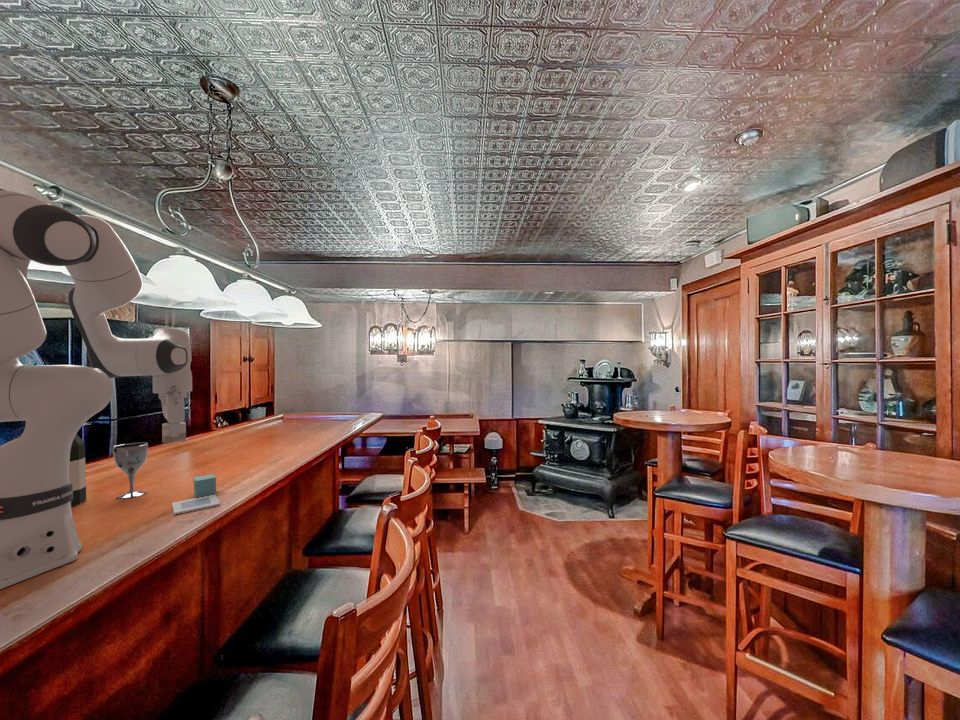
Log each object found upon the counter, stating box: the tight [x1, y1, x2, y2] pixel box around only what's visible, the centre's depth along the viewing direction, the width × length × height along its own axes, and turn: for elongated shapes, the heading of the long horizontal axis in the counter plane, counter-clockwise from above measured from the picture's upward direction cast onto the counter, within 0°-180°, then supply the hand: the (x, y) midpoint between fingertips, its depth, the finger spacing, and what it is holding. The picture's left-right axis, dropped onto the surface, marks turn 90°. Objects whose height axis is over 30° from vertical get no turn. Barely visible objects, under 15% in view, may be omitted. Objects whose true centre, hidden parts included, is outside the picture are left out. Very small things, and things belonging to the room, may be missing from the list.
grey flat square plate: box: [171, 493, 221, 516], centre depth 109 cm, size 10×10×1 cm
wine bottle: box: [69, 433, 87, 507], centre depth 113 cm, size 8×8×30 cm
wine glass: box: [112, 441, 149, 500], centre depth 119 cm, size 8×8×15 cm
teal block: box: [193, 473, 217, 498], centre depth 119 cm, size 5×5×5 cm
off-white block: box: [161, 421, 187, 444], centre depth 112 cm, size 5×5×5 cm
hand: (174, 435), depth 112 cm, fingers closed on off-white block, 5 cm apart
